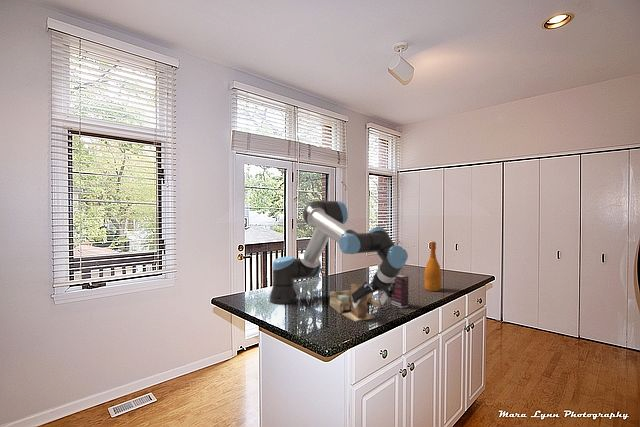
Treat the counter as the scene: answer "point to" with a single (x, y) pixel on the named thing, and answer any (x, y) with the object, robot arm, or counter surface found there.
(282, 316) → the counter surface
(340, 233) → the robot arm
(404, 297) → the supplement box
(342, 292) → the rack
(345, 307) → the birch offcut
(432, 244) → the wine bottle
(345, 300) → the sage offcut
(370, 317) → the cork pad
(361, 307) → the brown rectangular block
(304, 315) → the counter surface
